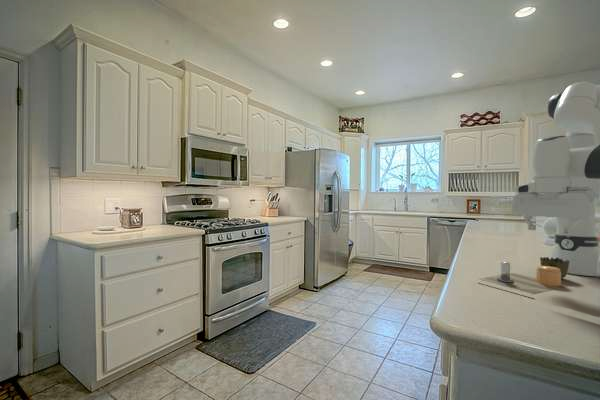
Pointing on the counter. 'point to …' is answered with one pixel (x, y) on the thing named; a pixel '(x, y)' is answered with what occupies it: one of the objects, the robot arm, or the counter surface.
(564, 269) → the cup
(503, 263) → the stud
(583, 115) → the robot arm
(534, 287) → the board
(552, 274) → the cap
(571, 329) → the counter surface
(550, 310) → the counter surface
